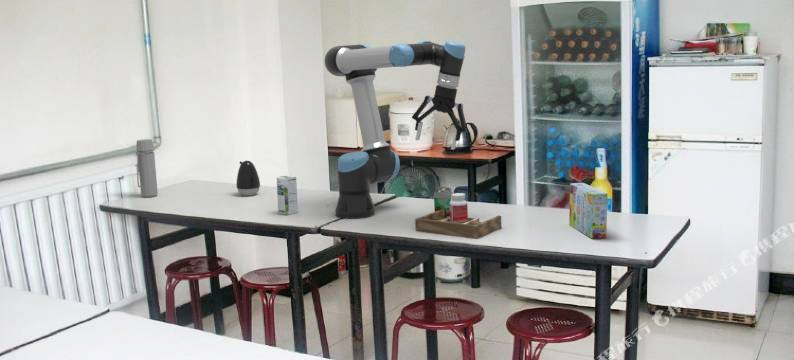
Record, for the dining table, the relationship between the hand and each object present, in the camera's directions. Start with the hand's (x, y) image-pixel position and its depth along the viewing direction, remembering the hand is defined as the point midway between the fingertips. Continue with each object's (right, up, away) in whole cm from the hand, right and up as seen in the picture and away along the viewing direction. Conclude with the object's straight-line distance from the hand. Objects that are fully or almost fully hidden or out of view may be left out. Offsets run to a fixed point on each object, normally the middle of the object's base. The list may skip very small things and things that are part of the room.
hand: (435, 144), depth 303 cm
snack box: (+50, -30, -18) cm, 61 cm away
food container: (+4, -26, +13) cm, 30 cm away
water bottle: (-124, -20, +72) cm, 144 cm away
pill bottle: (+8, -29, -8) cm, 31 cm away
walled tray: (+8, -30, -8) cm, 32 cm away
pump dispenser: (-78, -19, +67) cm, 105 cm away
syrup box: (-56, -26, +27) cm, 67 cm away
